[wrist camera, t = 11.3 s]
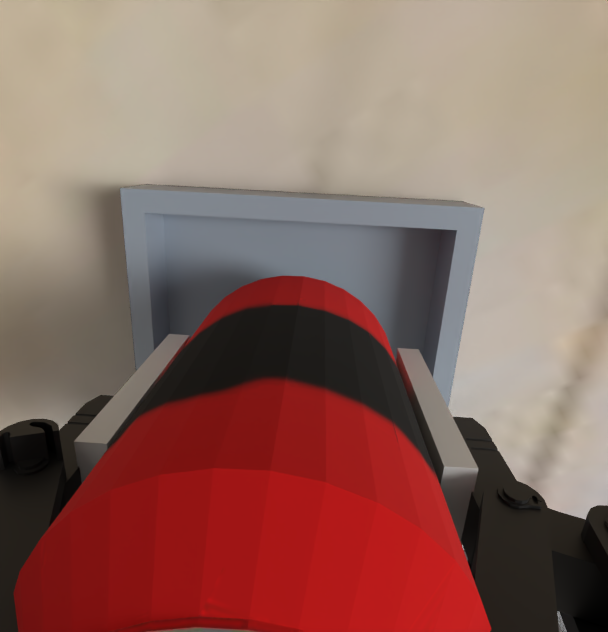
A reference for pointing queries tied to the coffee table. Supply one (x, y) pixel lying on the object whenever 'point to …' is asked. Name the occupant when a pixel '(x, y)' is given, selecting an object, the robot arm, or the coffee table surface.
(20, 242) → the coffee table surface
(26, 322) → the coffee table surface
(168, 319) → the tray
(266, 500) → the soda can
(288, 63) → the coffee table surface
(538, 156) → the coffee table surface
